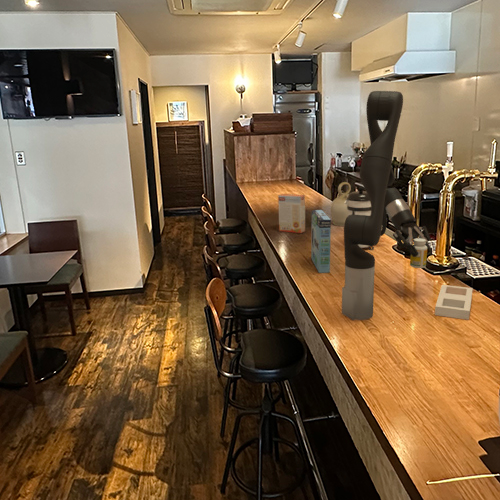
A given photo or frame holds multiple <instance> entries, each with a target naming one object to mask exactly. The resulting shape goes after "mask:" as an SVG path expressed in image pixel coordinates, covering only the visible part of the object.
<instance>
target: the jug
mask: <svg viewBox="0 0 500 500" xmlns="http://www.w3.org/2000/svg"><path fill="white" fill-rule="evenodd" d="M344 185H346V186H347V189H346V191H345V192H342V187H343V186H344ZM351 187H352V186H351V184H350V183H349V182H347V181H343V182H341V183H339V185H338V187H337V192H338V193H337V197H336V198H334V199H333V200H332V202H331V204H330V214H331V222H332V224H333V226H337V227H344V224H345V220H346V218H347V215H348V209H347V205H348V204H344V203H345V201H346V199H347V197H348V195H349V194H350V193H351V190H352V189H351Z"/></svg>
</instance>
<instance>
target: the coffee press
mask: <svg viewBox="0 0 500 500" xmlns="http://www.w3.org/2000/svg"><path fill="white" fill-rule="evenodd" d="M348 194H349V195H348V197H347V199H346V201H345V203H344V204H348V205H347V209H348V215H347V217H348V216H349V215H367V216H370V215H371V202H370V199H369V196H368V194H367V192H366V190H364V186H363V185H362V186H359V187H358V190H357V191H352V192H351V191H350V192H349V193H348ZM387 216H388V214H387V211H386V209H385V207H384V210H383V220H382V229H381V236H380V238H381V237H382V236H384V235H385V233H386V230H387ZM359 247H360V248H362V249H363V248H368V249H369V250H370V251H373V250H374V249H375V248H374V246H368V245H359Z"/></svg>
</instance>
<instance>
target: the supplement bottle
mask: <svg viewBox="0 0 500 500" xmlns="http://www.w3.org/2000/svg"><path fill="white" fill-rule="evenodd" d="M425 244H426V240H425V239H421V238H419V237H417V238H416V239H413V245H414V246H415V248H416V250H417V252H418V255H417V256H416V257H413V256H412V255H411V254H410V256H409V257H410V259H409V266H410V267H412V268H415V269H424V268H426V267H427V256H428V254H427V246H426V245H425Z"/></svg>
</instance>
